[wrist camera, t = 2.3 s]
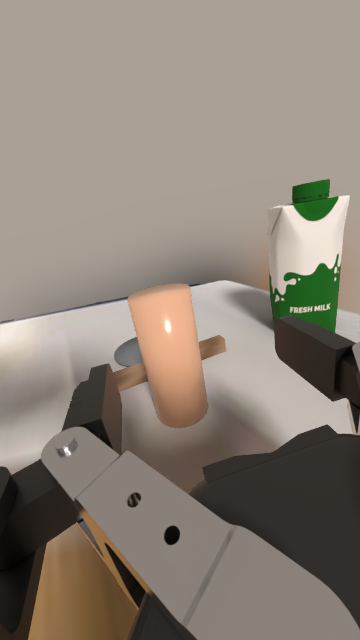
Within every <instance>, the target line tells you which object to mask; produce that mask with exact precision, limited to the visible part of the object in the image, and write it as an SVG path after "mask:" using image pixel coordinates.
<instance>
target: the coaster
mask: <svg viewBox="0 0 360 640" xmlns="http://www.w3.org/2000/svg"><path fill="white" fill-rule="evenodd" d="M114 357H115V360H116V362H117V363H118V364H120V365H122V366H126V367H130V366H133V365H136V364H139V363H141V362H143V358H142V354H141V350H140V347H139V343H138V339H137V337H135V338H133V339H131V340H129V341H127V342H125V343H123V344H122V345H121V346H120V347H118V349H117V350H116V351H115V354H114Z"/></svg>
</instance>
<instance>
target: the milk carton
mask: <svg viewBox="0 0 360 640" xmlns="http://www.w3.org/2000/svg"><path fill="white" fill-rule="evenodd" d="M329 185H330V180H329V179H328V180H321V181H316V182H311V183H306V184H301V185H297V186H293V189H292V190H293V191H292V193H293V194H292V200H293V203H290V204H285V205H280V206H276V207H272V208H270V209H268V221H269V222H268V223H269V227H268V235H269V277H270V299H271V306H272V313H273V319H274V321H275V320H276V319H278V318H281V317H285V316H289V315H293V316H295V317H297V318H299V319H301V320H304V321H306V322H309V323H313V324H317V325H319V326H321V327H323V328H325V330H326V329H327V330H329V331H332V332H333V333H335V326H336V316H337V305H338V292H339V280H340V268H341V255H342V243H343V242H342V241H343V231H344V224H345V219H346V214H347V209H348V203H349V198H350V196H340V197H338V196H337V197H329V187H330V186H329Z"/></svg>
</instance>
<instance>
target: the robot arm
mask: <svg viewBox="0 0 360 640" xmlns="http://www.w3.org/2000/svg"><path fill="white" fill-rule="evenodd" d="M274 333H275V350H276V353H277V355H278V357H279V359H280V360H281V361H283V362H284V363H285V364H286V365H288V366H289V367H290V368H291V369H293V370H294V371H295V372H296V373H298V374H299V375H300V376H301V377H303V378H304V379H305V380H306V381H308V382H309V383H310V384H311V385H313V386H314V387H315V388H316V389H318V390H319V391H320V392H321V393H323V394H324V395H325V396H326V397H328V398H329V399H330V400H331V401H333V402H334V401H337V400H340V399H343V398H347V399H348V403H347V408H348V413H349V417H350V422H351V427H352V432H353V434H337V433H336V432H335V431H334V430H333V429H332V428H331V427H330V426H329V425H328V424H327V425H324V426H321V427H318V428H316V429H313V430H310V431H307V432H304V433H301V434H298V435H297V436H296V437H294V438H293V439H291V440H290V441H288V442H287V443H286V444H284V445H283V446H281V447H280V448H279V449H277V450H276V451H274V452H272V453H264V454H253V455H242V456H234V457H231V458H228V459H225V460H222V461H219V462H216V463H214V464H211V465H208V466H205V467H202V468H203V472H204V477H205V480H204V481H202V482H201V483H199V484H198V485H197V486H196V487H195V488H194V489H193V490H192V491H191V492H190V493H189V494H187V493H186V492H184V491H183V490H182V489H180V488H179V487H178V486H176V485H175V484H173V483H172V482H171V481H169V480H168V479H167V478H165V477H164V476H163V475H161V474H160V473H159V472H157V471H156V470H154V469H153V468H152V467H150V466H149V465H148V464H146V463H145V462H144V461H142V460H141V459H140V458H138V457H137V456H136V455H134V454H133V453H131V452H130V451H127V450H125V451H124V452H123V453H122V454H121V436H122V404H121V398H120V393H119V390H118V387H117V384H116V381H115V378H114V375H113V372H112V369H111V367H110V365H109V363H108V364H104V365H100V366H97V367H93V368H91V371H90V375H89V380H87V381H84V382H81V383H80V384H79V386H78V387H77V388H76V389H75V390H74V393H73V396H72V401H71V402H70V406H69V407H70V408H69V409H68V412H67V415H66V419H65V422H64V425H63V428H62V432H60V433H59V434H57V435H56V436H55V437H53V438H52V439H51V440H50V441H49V442H48V443H47V444H46V446H45V447H44V449H43V451H42V454H41V459H39V460H38V461H36V462H35V463H33V464H31V465H29V466H27V467H26V468H24V469H22V470H20V471H18V472H16V473H15V474H13V475H11V473H10V472H9V470H8V469H7V468H6V467H0V640H28V636H29V631H30V626H31V621H32V616H33V611H34V605H35V600H36V595H37V590H38V585H39V580H40V575H41V569H42V564H43V559H44V554H45V549H46V544H47V542H49V541H50V540H52V539H53V538H55V537H56V536H57V535H59V534H60V533H62V532H63V531H65V530H66V529H67V528H69V527H70V526H72V525H73V524H75V523H76V524H77V526H78V527H79V528H80V530H81V531H82V532H83V534H84V535H85V537H86V538H87V539H88V541H89V542H90V543H91V545H92V546H93V547H94V549H95V550H96V551H97V553H98V554H99V556H100V557H101V558H102V560H103V561H104V562H105V564H106V565H107V567H108V568H109V569H110V571H111V572H112V574H113V576H114V577H115V579H116V581H117V582H118V584H119V585H120V587H121V588H122V590H123V591H124V593H125V594H126V596H127V597H128V598H129V600H130V601H131V603H132V604H133V605H134V607H135V608H136V609H137V611H138V613H137V616H136V618H135V621H134V623H133V626H132V629H131V631H130V634H129V636H128V639H127V640H360V342H359V343H355V342H353V341H351V340H349V339H346V338H344V337H342V336H340V335H338V334H336V333H333V332H332V331H329V330H327V329H326V330H325V328H323V327H321V326H319V325H317V324H313V323H309V322H306V321H304V320H301V319H299V318H297V317H295V316H293V315H289V316H285V317H281V318H278V319H276V320H275V322H274Z"/></svg>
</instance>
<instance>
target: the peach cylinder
mask: <svg viewBox="0 0 360 640" xmlns="http://www.w3.org/2000/svg"><path fill="white" fill-rule="evenodd" d="M127 300H128V304H129V308H130V312H131V316H132V320H133V323H134V327H135V331H136V335H137V339H138V343H139V347H140V350H141V354H142V358H143V362H144V366H145V370H146V374H147V378H148V381H149V385H150V389H151V393H152V397H153V401H154V405H155V408H156V412H157V416H158V418H159V420H160V421H161V422H162V423H163V424H165V425H167V426H169V427H174V428H182V427H187V426H191V425H193V424H195V423H197V422H198V421H200V420H201V419H202V418H203V417H204V416H205V414H206V413H207V410H208V401H207V394H206V388H205V381H204V375H203V368H202V362H201V355H200V349H199V342H198V336H197V329H196V323H195V317H194V310H193V304H192V297H191V291H190V287H189V286H188V285H186V284H179V283H177V284H176V283H175V284H164V285H157V286H153V287H149V288H145V289H142V290H140V291H137V292H135V293H133V294H131V295H130V296H129V297H128V299H127Z"/></svg>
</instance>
